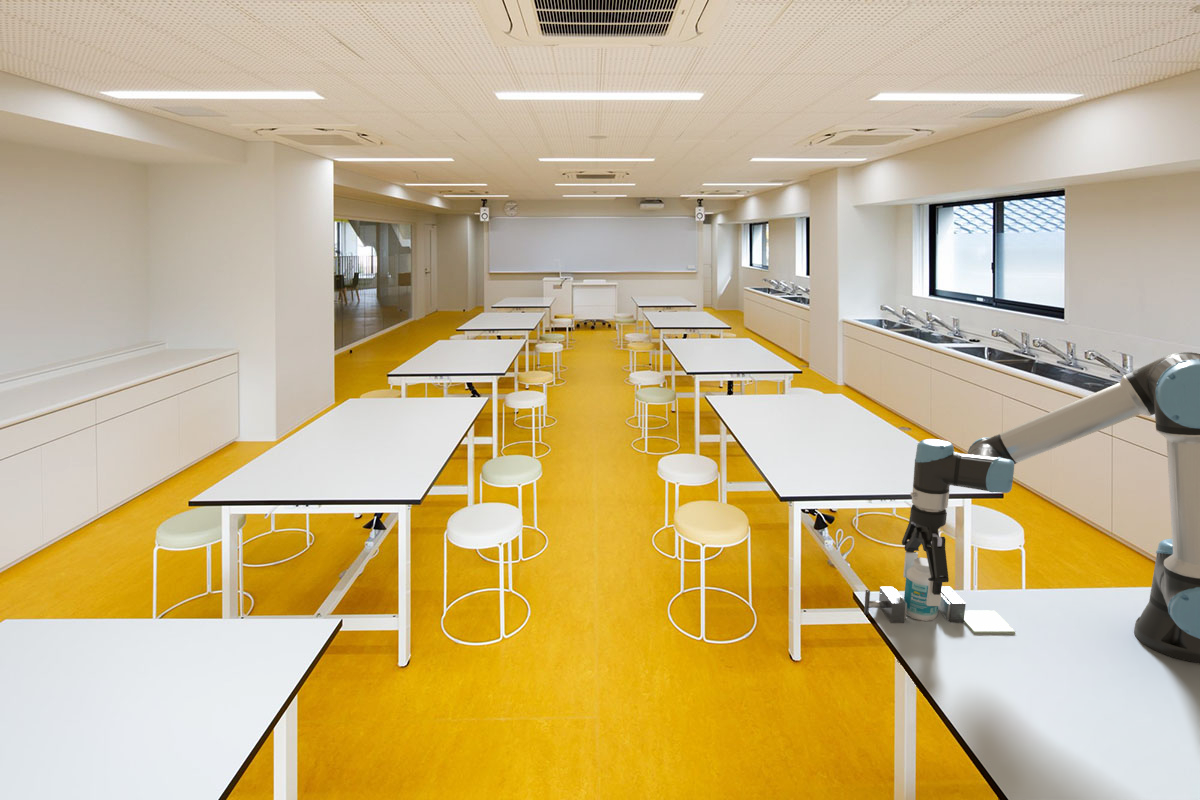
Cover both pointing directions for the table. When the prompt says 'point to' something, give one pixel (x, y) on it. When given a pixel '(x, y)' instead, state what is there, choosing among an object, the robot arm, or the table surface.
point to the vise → (897, 606)
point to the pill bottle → (919, 591)
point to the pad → (987, 623)
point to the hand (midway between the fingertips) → (920, 590)
